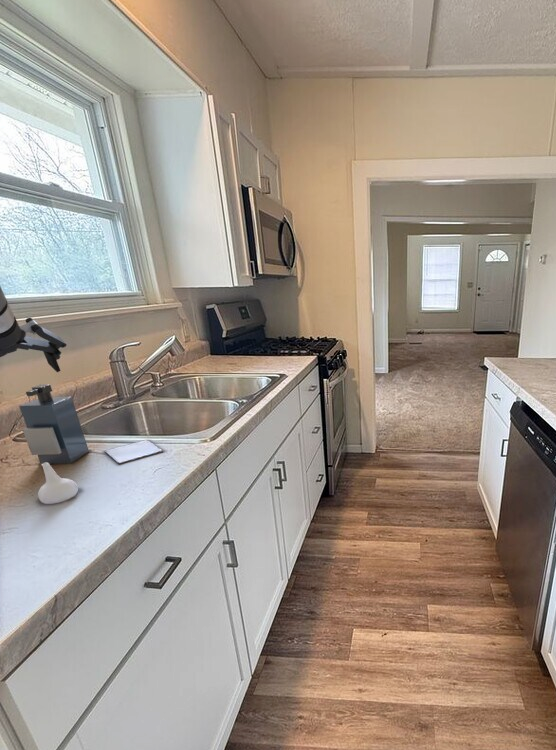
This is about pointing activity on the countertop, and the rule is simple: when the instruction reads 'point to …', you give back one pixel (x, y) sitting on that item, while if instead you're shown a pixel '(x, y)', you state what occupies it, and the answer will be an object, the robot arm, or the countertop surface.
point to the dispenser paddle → (41, 440)
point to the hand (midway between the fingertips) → (22, 382)
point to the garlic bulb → (56, 487)
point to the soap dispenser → (56, 423)
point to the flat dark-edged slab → (133, 451)
